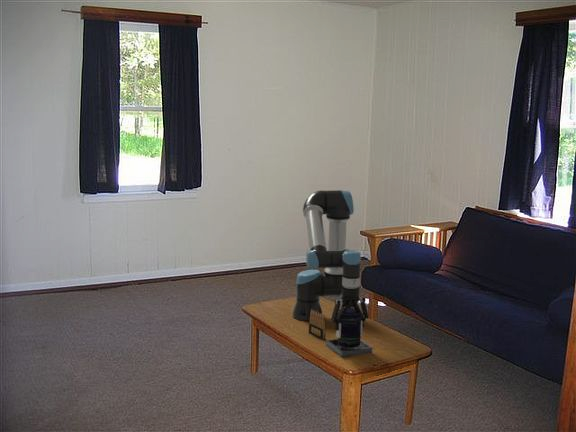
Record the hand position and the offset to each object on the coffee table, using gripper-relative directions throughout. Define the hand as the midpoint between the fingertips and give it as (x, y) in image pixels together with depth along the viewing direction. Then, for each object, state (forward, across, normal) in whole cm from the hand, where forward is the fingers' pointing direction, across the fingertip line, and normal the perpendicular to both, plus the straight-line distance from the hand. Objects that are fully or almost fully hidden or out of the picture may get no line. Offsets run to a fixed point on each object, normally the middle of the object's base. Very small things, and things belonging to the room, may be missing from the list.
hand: (349, 335), depth 289 cm
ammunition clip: (+7, -6, +20) cm, 22 cm away
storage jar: (+4, 0, 0) cm, 4 cm away
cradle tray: (+6, 0, 0) cm, 6 cm away
